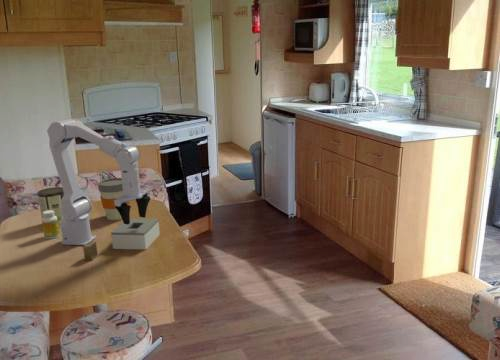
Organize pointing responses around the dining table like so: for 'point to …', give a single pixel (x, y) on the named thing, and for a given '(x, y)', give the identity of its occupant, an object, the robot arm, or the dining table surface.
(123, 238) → the box
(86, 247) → the tan rectangular block
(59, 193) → the coffee can
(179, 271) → the dining table surface
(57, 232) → the supplement bottle
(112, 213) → the reusable coffee cup
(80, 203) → the robot arm
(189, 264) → the dining table surface
